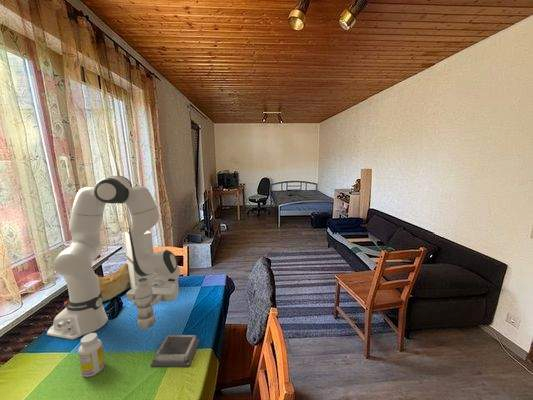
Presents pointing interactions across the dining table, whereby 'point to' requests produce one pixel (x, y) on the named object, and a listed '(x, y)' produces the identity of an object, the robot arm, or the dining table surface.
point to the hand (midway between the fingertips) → (143, 304)
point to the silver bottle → (144, 304)
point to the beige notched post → (132, 274)
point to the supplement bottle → (91, 355)
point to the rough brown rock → (114, 283)
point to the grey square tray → (176, 351)
